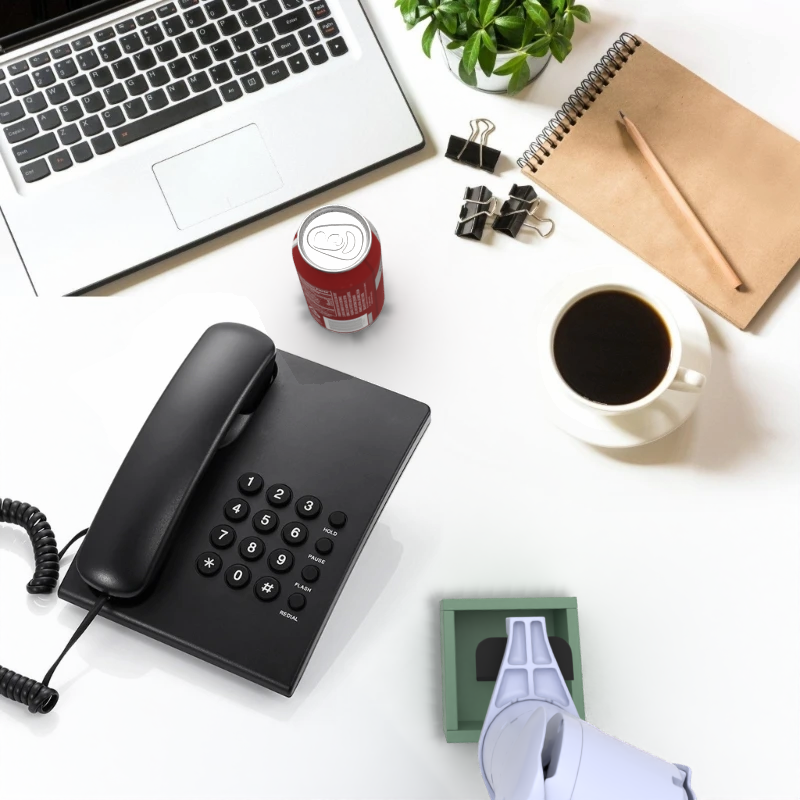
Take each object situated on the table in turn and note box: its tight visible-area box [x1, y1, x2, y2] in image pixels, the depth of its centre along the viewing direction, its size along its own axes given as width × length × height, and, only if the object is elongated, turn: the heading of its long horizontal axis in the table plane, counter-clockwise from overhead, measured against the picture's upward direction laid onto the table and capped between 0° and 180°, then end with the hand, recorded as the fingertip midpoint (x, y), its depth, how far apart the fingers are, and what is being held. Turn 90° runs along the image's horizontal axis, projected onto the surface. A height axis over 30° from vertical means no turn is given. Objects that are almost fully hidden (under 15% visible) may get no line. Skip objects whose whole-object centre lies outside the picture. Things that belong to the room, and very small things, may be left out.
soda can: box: [291, 203, 386, 335], centre depth 65 cm, size 7×7×12 cm
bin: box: [439, 596, 586, 744], centre depth 59 cm, size 10×10×6 cm
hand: (513, 734), depth 52 cm, fingers open, 7 cm apart
